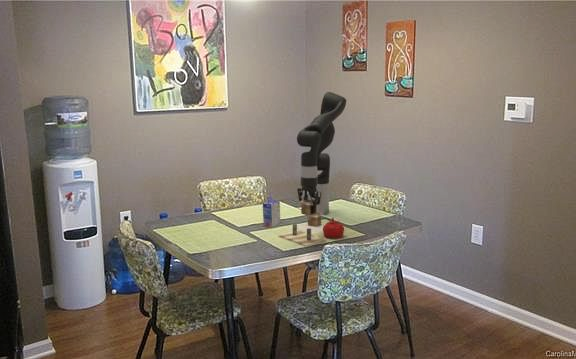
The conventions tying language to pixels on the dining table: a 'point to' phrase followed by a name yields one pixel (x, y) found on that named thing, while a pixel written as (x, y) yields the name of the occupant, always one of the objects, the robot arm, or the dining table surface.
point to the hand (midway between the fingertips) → (309, 212)
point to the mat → (313, 229)
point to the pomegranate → (333, 229)
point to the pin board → (302, 237)
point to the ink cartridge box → (271, 212)
